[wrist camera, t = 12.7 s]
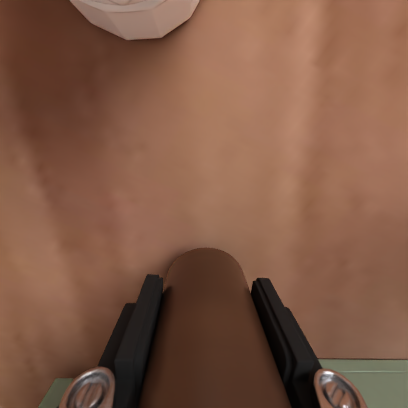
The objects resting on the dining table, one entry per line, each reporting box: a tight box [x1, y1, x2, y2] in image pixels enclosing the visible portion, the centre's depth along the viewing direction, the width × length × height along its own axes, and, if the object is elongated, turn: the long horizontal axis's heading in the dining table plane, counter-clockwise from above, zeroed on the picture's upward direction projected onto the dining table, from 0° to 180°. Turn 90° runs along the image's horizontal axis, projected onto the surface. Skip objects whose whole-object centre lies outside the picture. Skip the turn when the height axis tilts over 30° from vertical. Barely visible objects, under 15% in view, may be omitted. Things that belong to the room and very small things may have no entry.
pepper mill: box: [137, 248, 292, 408], centre depth 7 cm, size 4×4×9 cm
